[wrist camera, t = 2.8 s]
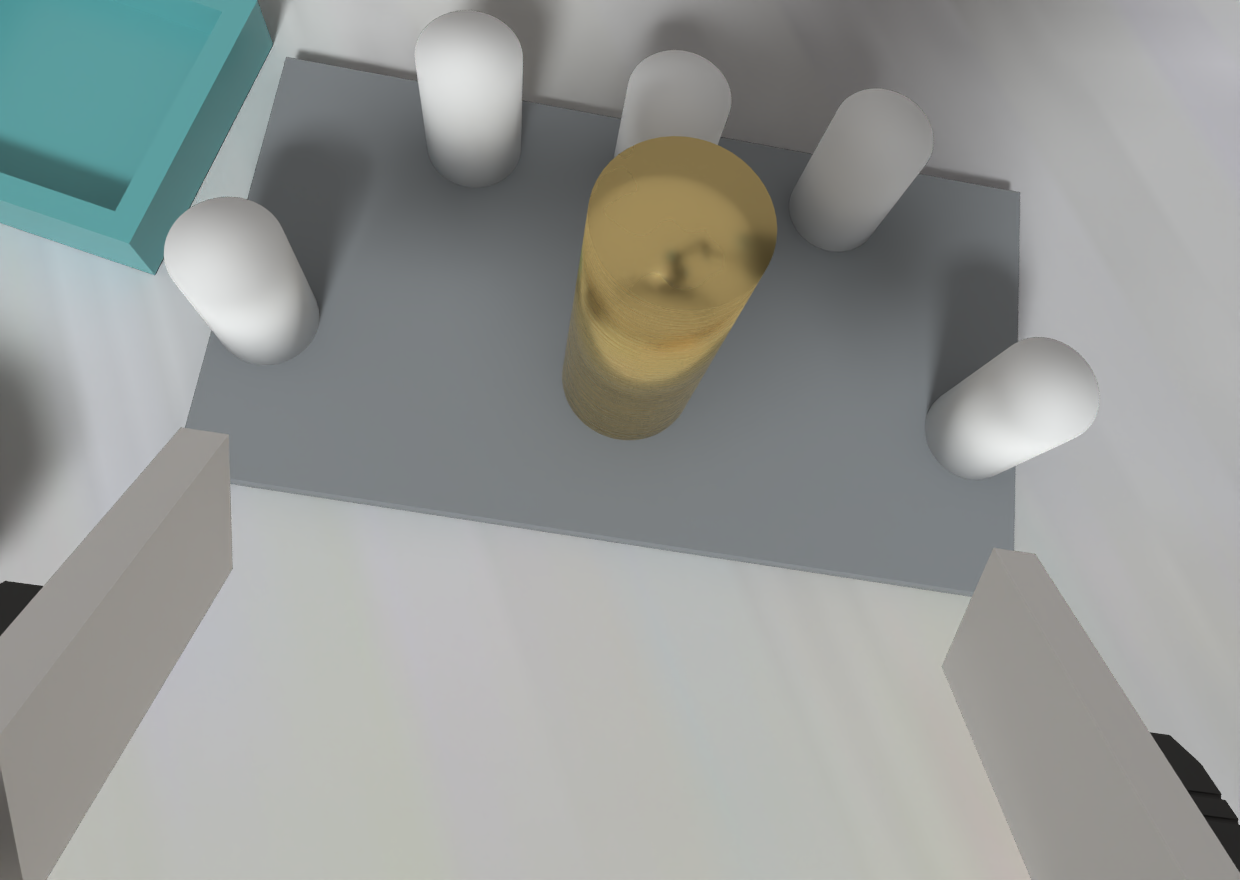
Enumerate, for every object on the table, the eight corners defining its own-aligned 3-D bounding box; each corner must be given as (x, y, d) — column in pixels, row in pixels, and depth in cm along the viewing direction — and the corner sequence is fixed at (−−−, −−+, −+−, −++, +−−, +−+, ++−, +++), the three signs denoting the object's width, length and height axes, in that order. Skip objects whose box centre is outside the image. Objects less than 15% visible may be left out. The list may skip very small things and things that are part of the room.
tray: (273, 44, 32) (257, 0, 30) (155, 275, 30) (129, 243, 28) (15, -45, 32) (-18, -96, 30) (-127, 179, 29) (-174, 141, 27)
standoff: (706, 341, 30) (797, 172, 21) (669, 457, 29) (748, 335, 19) (585, 300, 30) (621, 111, 20) (544, 415, 29) (561, 272, 19)
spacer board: (1008, 203, 34) (1097, 115, 29) (1000, 601, 30) (1101, 579, 25) (291, 72, 32) (250, -48, 27) (182, 476, 28) (110, 425, 23)
